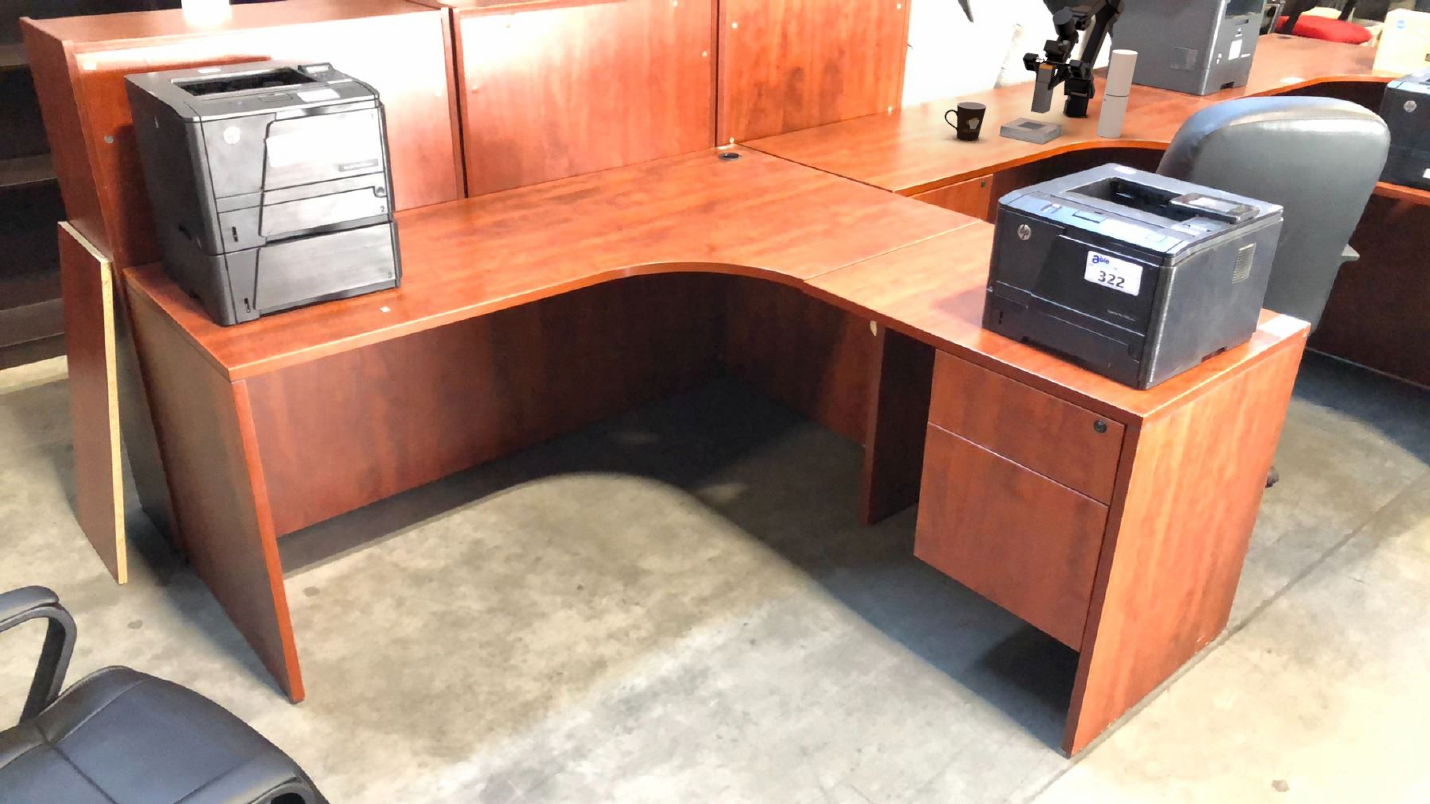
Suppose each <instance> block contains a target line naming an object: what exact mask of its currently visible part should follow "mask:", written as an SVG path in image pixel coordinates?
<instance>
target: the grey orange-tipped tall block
mask: <svg viewBox="0 0 1430 804" xmlns="http://www.w3.org/2000/svg"><path fill="white" fill-rule="evenodd" d="M1056 72H1057V69H1056V65H1054V64H1048V63H1042V64H1040V67H1039V73H1038V79H1037V81H1036V80H1035V81H1036V83H1035V82H1034V90H1033V96H1032V101H1031V107H1030V112H1033V113H1037V114H1046V113H1047V112H1050V110H1051V107H1052V106H1051V105H1052V100H1053V94H1054V89H1055V87H1054V88H1053V89H1052V90H1050V91H1049V89H1048V88H1049V86H1050V83H1051V82H1052V80H1053V78H1054V76H1055V74H1056Z"/></svg>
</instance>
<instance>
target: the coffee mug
mask: <svg viewBox="0 0 1430 804" xmlns="http://www.w3.org/2000/svg"><path fill="white" fill-rule="evenodd" d="M956 106H957V107H956V108H957V109H956V110H955V109H949V110H947V111H945V113H944V119H945V121H946V123H947V124H948V125H950V126H951V127H953V129H955V130H956V139H957V140H960V141H963V142H975V141H978V140H979V137H980V134H981V133H980V132H981V129H982V125H983V123H984V122H983V121H984V117H985V114H986V109H987V105H986V104H984V103H981V102H975V101H961V102H958V103H957V105H956ZM952 112H953V113H954V114H955V116H956V126H955V125H954V124H952V123H951V121H949V120H948V119H947V116H948V114H949V113H952Z"/></svg>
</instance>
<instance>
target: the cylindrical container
mask: <svg viewBox="0 0 1430 804" xmlns="http://www.w3.org/2000/svg"><path fill="white" fill-rule="evenodd" d="M1137 58H1138V52H1137V51H1135V50H1130V49H1114V50H1112V53H1111V56H1110V63H1109V67H1108V73H1107V78H1106V82H1105V89H1104V94H1103V97H1102V103H1101V109H1100V113H1099V119H1098V124H1097V129H1096V135H1097V136H1099V137H1101V136H1103V137H1102V138H1107V139H1117V138H1120V137H1121V135H1122V130H1123V126H1124V125H1123V124H1124V121H1125V114H1126V112H1127V111H1126V110H1127V107H1128V102H1129V97H1130V96H1129V95H1130V92H1131V86H1132V82H1133V78H1134V73H1135V67H1136V62H1137Z"/></svg>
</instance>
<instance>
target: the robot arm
mask: <svg viewBox="0 0 1430 804" xmlns="http://www.w3.org/2000/svg"><path fill="white" fill-rule="evenodd" d="M1124 9H1125V2H1124V0H1086V1H1084V2H1083V4H1081V5H1080V6H1075V7H1071V6H1064V7H1063V9H1059V10H1057V12H1055V13H1054V14H1053V15H1052V23H1053V27H1054V31H1055V34H1056V35H1057V38H1056V40H1054V39H1046V41H1045V43H1044V46H1043V49H1042V51H1043V52H1045V54H1044V57H1045V58H1046V59H1044V58H1043V57H1040V55H1039V53H1033V52H1026V53H1025V54H1024V55H1023V57H1022V62H1023V65H1024V68H1025V70H1026V71H1030V72H1035V81H1034V84H1035V83H1036V81H1037V79H1038V73H1039V67H1040V64H1042V63H1048V64H1054V65H1056V72H1055V76H1054V78H1053V80H1052V82H1051V83H1050V86H1049V88H1048V89H1049V91H1050V90H1052V89H1053V88H1054V89H1055V88H1056V87H1057V86H1058V85H1060V84H1061V83H1064V84H1063V96H1067V99H1065V101H1064V107H1063V111H1062V113H1063V114H1064V115H1065V116H1066V117H1068V118H1088V117H1089V116H1088V114H1087V111H1088V106H1089V101H1090V100H1093V99H1094V97H1095V94H1096V88H1095V83H1094V79H1095V77H1094V71H1093V69H1094V66H1095V64H1096V62H1097V59H1098V57H1099V54H1100V52H1101V49H1102V47H1103V44H1104V42H1105V39H1106V37H1107V35H1108V32H1109V30H1110V28H1111V27H1112V26H1113V25H1115V24H1116V23H1117V22H1118V21H1119V19H1120V17H1121V15H1122V14H1123V12H1124ZM1093 17H1094V19H1095V22H1094V25H1093V27H1092V29H1091V32H1090V34H1089V37H1088V39H1087V41H1086V45H1085V47H1084V49H1083V52H1082V55H1081V58H1080V59H1073V58H1072V59H1071V57H1072V51H1073V49H1074V48H1075V45H1077V44H1079V41H1080V39H1079V37H1080V35H1079V32H1085V31H1086V30H1087V29H1088V28H1089V27H1090V26H1091V24H1092V18H1093ZM1068 59H1070V60H1069V62H1068ZM1067 62H1068V63H1067Z"/></svg>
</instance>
